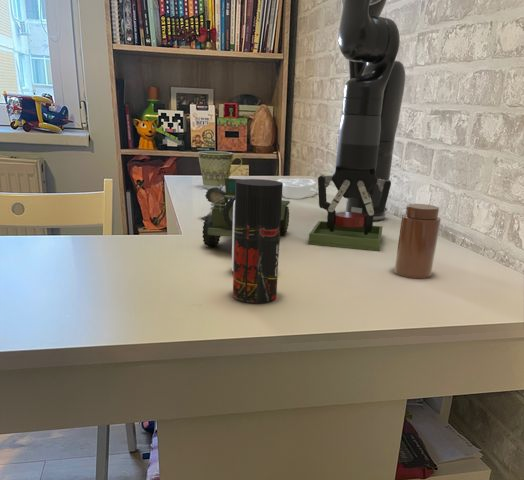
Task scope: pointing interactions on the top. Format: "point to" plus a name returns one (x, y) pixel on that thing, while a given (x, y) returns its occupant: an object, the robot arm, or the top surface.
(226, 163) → the ceramic cup
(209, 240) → the toy jeep
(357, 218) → the jar lid
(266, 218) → the deodorant
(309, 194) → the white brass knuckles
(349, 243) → the tray
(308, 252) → the top surface
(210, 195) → the eagle figurine
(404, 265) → the jar
